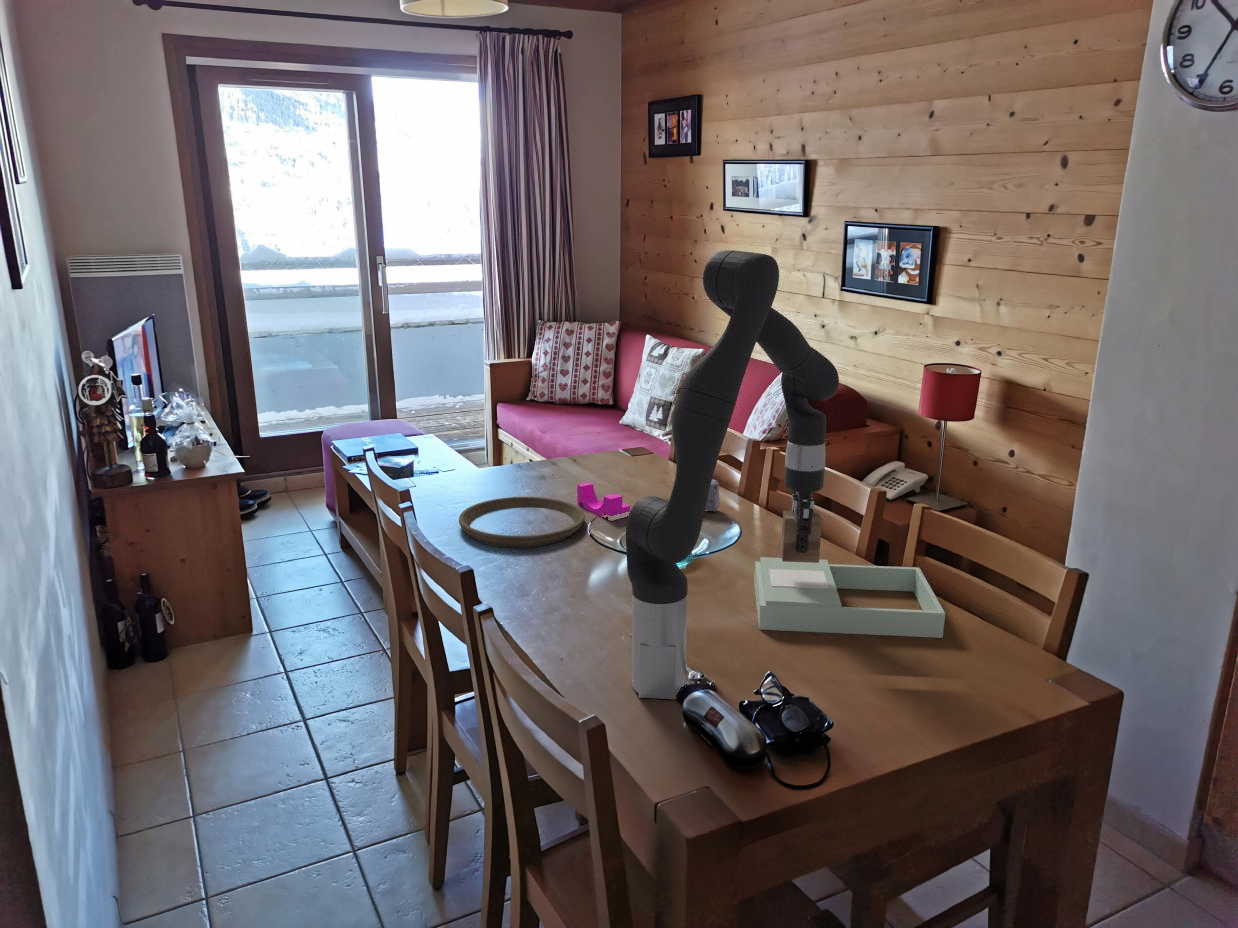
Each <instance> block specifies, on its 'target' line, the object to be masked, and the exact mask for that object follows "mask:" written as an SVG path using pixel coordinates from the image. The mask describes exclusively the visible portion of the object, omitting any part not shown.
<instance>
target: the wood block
mask: <svg viewBox="0 0 1238 928" xmlns="http://www.w3.org/2000/svg"><path fill="white" fill-rule="evenodd" d="M797 517H799V516H798V515H797ZM822 520H823V519H822V517H821V514H820V511H813V519H812V525H811V534H810V535H808V550H807V552H806V553H800V552H797V551H796V535H797V534H796V526H797V523H796V522H795V521H794V512H792V510H783V511H782V528H781V543H780V544H781V546H780V547H781V548H780V554H781V558H782V561H783V562H809V563H819V559H820V553H821V551H820V550H821V534H822ZM801 528H807V525H802V526H801Z"/></svg>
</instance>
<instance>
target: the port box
mask: <svg viewBox="0 0 1238 928" xmlns="http://www.w3.org/2000/svg"><path fill="white" fill-rule="evenodd" d="M754 561H755V560H754ZM753 582H754V583H753V584H754V592H755V603H756V604H755V605H756V611H757V613H756V614H757V621H758V623H757V624H758V630H765V631H784V632H786V631H787V632H804V633H805V632H806V633H829V634H830V633H831V634H851V635H853V634H854V635H869V636H870V635H872V636H873V635H874V636H891V637H892V636H896V637H897V636H898V637H915V638H917V637H918V638H939V639H941V638H943V636H944V629H945V621H946V620H945V618H946V612H945V610H944V609H943V607H942V605H941V603H940V602H939V600H938V598H937V596H936V594H935V593H934V591H933V588H932V587H931V585H930V584H929V583H928V580H927V579H926V577H925V575H924V573H923V572H922V570H921V568H920V567H915V566H914V567H911V566H910V567H909V566H888V565H886V566H883V565H881V566H880V565H858V564H857V565H855V564H830V563H829V562H828V559H820V558H819V563H809V562H783V561H782V557H768V556H767V557H764V556H760V558H759V561H758V560H757V561H755V562H754V578H753ZM838 589H839V590H841V589H842V590H843V589H844V590H869V591H871V590H872V591H894V592H912V593H914V596H915V598H916V600H917V601H918V603H919V605H920V607H921V609H905V608H902V609H901V608H882V607H881V608H878V607H856V606H851V607H850V606H842V602H841V601H842V600H841V598H840V595H839V592H838Z"/></svg>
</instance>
